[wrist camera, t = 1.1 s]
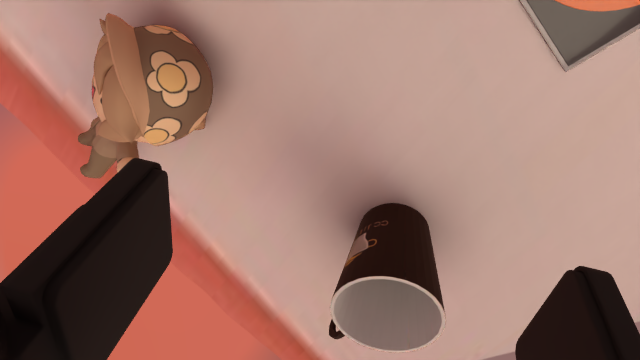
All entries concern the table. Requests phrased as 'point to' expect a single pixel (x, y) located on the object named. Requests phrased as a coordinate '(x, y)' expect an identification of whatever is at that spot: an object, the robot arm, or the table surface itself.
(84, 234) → the robot arm
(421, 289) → the coffee mug
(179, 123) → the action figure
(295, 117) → the table surface
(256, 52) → the table surface
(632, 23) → the hob
